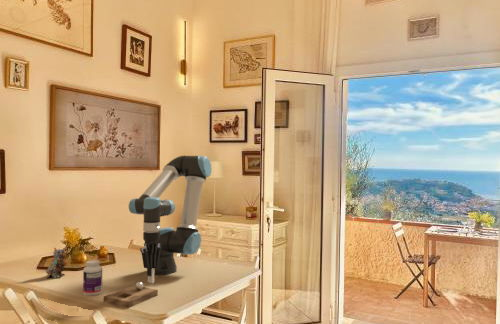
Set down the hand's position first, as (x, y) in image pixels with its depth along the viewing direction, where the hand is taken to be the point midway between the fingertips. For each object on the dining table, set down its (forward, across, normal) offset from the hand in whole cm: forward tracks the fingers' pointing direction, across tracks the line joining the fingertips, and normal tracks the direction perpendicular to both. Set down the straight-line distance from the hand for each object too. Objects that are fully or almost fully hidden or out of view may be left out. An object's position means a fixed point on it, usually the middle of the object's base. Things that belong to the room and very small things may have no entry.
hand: (151, 282), depth 191 cm
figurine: (+4, -6, +57) cm, 57 cm away
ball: (+1, -8, 0) cm, 8 cm away
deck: (+4, -13, 0) cm, 13 cm away
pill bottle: (+4, -16, +20) cm, 26 cm away
